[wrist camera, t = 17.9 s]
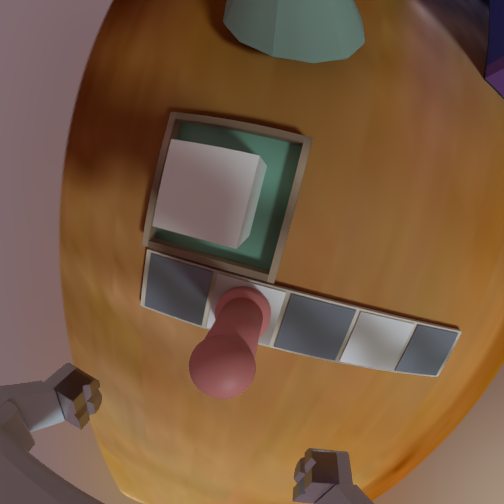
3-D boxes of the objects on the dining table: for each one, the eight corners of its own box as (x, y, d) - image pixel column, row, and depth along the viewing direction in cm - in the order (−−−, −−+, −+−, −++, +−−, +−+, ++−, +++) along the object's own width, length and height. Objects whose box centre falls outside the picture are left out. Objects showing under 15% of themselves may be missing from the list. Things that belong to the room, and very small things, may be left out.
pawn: (224, 279, 20) (178, 339, 11) (277, 294, 20) (268, 366, 11) (213, 326, 21) (170, 400, 12) (263, 340, 21) (246, 424, 12)
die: (199, 151, 19) (171, 139, 14) (267, 166, 18) (259, 155, 13) (183, 218, 20) (152, 226, 15) (249, 235, 19) (236, 249, 15)
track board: (149, 247, 21) (146, 249, 20) (459, 329, 19) (462, 332, 18) (143, 303, 22) (139, 306, 21) (435, 374, 20) (438, 377, 19)
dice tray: (178, 116, 19) (170, 111, 17) (310, 142, 18) (312, 137, 16) (150, 241, 21) (141, 245, 19) (274, 277, 20) (273, 283, 19)
